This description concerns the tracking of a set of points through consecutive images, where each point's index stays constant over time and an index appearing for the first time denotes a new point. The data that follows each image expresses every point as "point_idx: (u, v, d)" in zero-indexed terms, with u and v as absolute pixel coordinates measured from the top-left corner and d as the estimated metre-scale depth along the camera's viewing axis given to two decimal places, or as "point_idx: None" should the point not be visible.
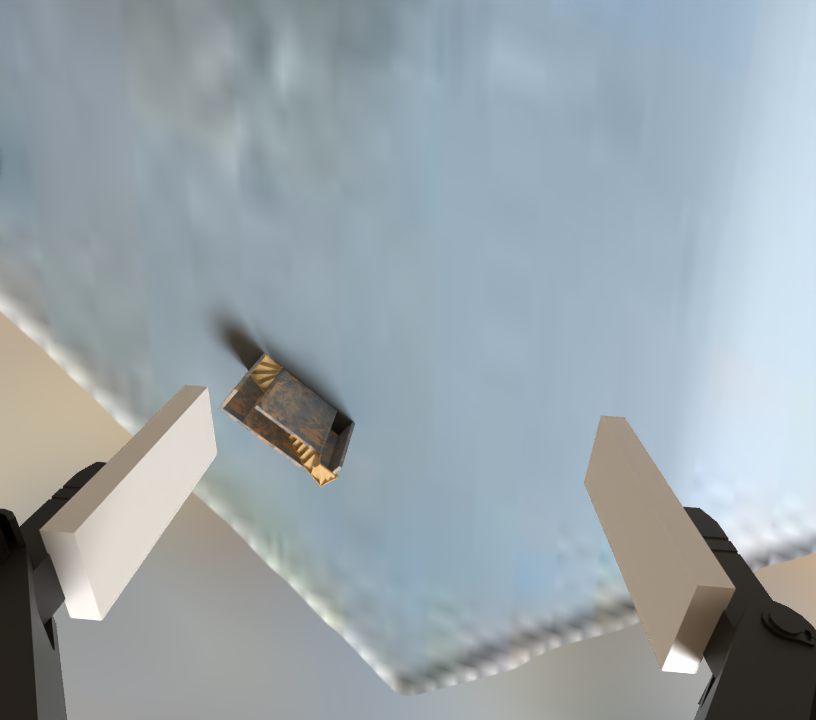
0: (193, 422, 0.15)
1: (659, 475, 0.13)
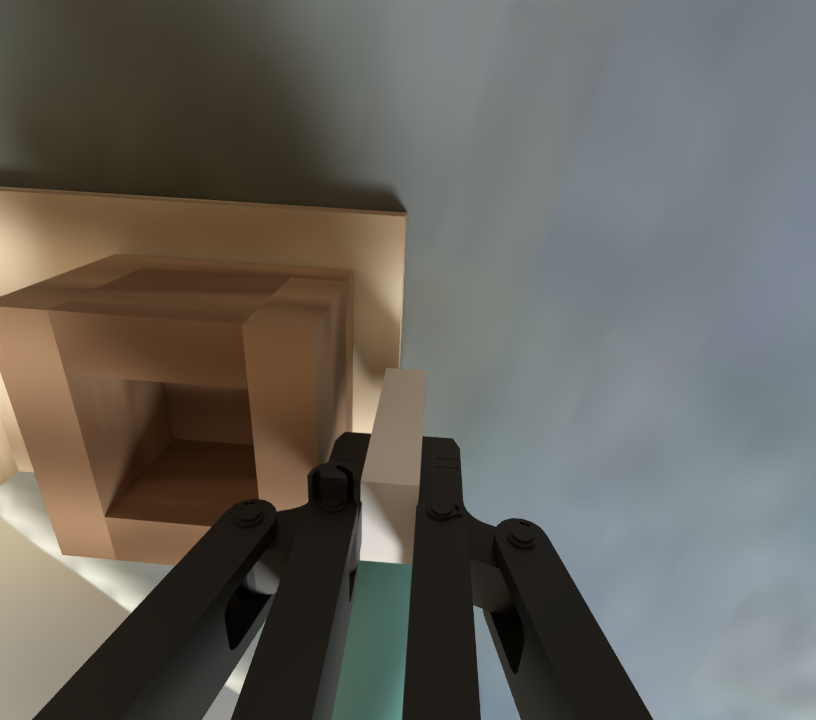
0: None
1: (421, 411, 0.15)
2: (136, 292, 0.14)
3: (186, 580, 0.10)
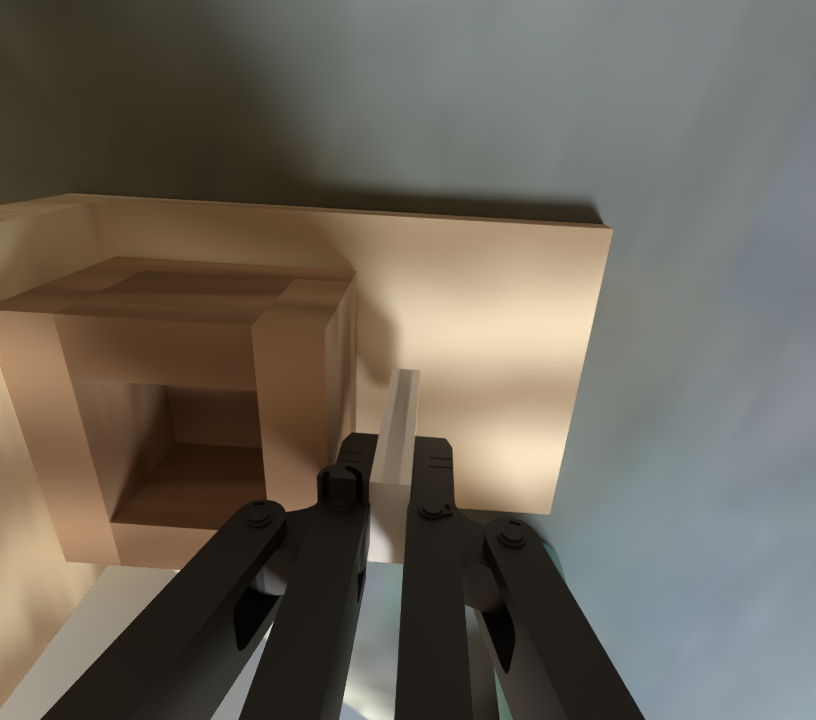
0: None
1: (414, 411, 0.15)
2: (141, 295, 0.14)
3: (195, 580, 0.10)
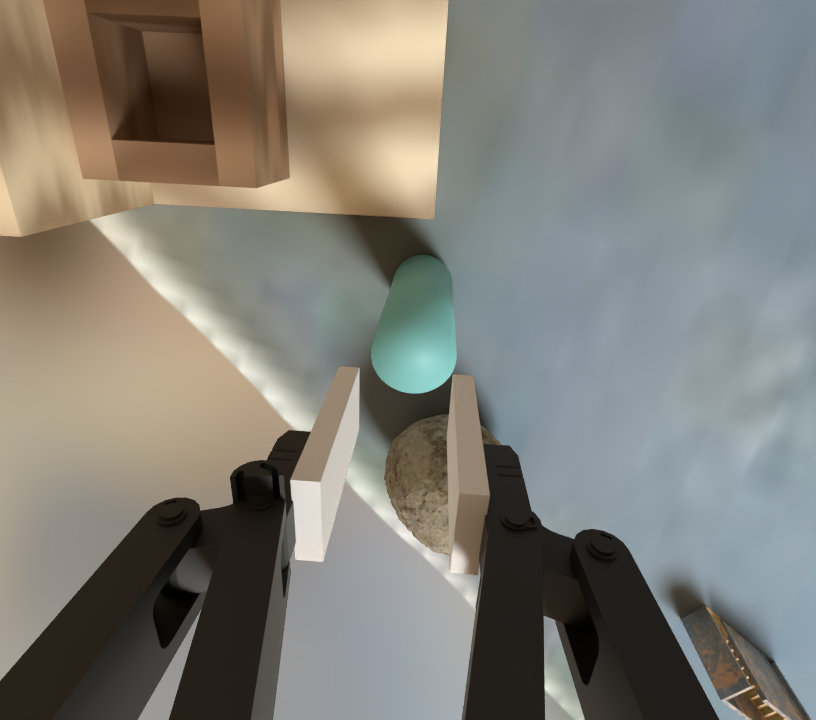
0: (354, 398, 0.17)
1: (476, 418, 0.15)
2: None
3: (108, 584, 0.09)
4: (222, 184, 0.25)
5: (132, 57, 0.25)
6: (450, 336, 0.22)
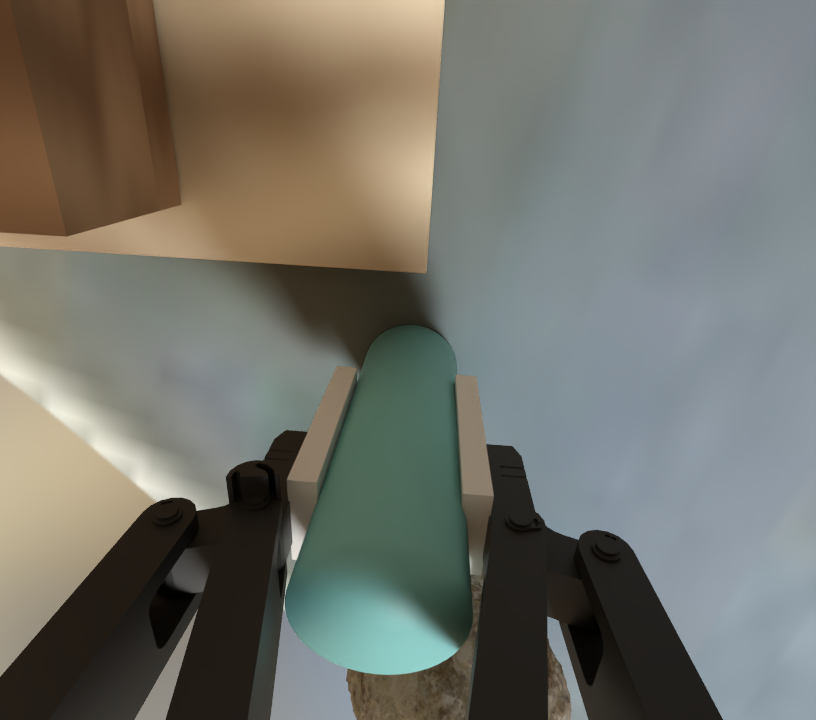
0: (351, 398, 0.17)
1: (479, 418, 0.15)
2: None
3: (104, 584, 0.09)
4: None
5: None
6: (459, 584, 0.10)
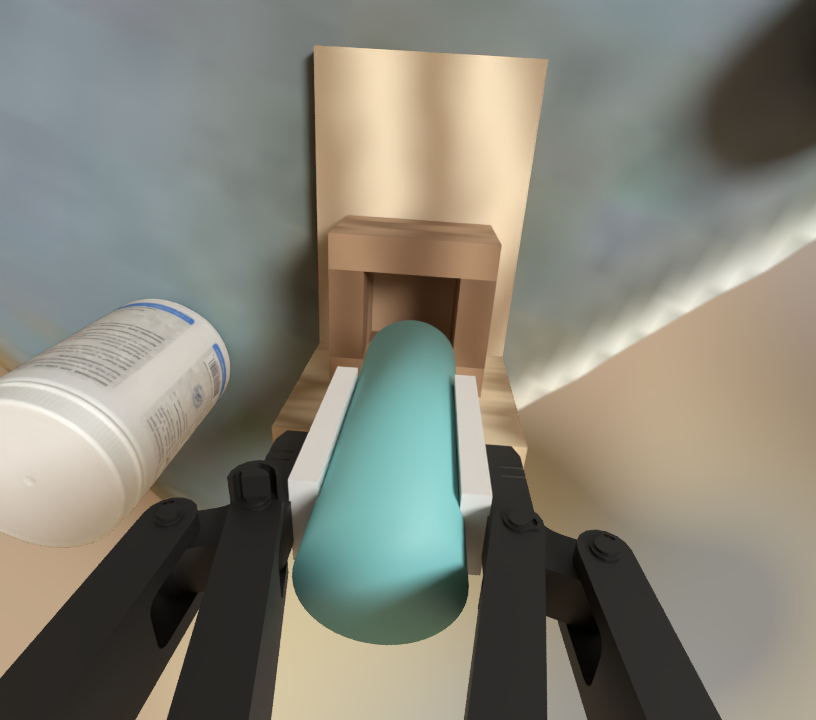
0: None
1: (478, 418, 0.15)
2: None
3: (105, 584, 0.09)
4: (495, 278, 0.26)
5: None
6: (456, 557, 0.11)
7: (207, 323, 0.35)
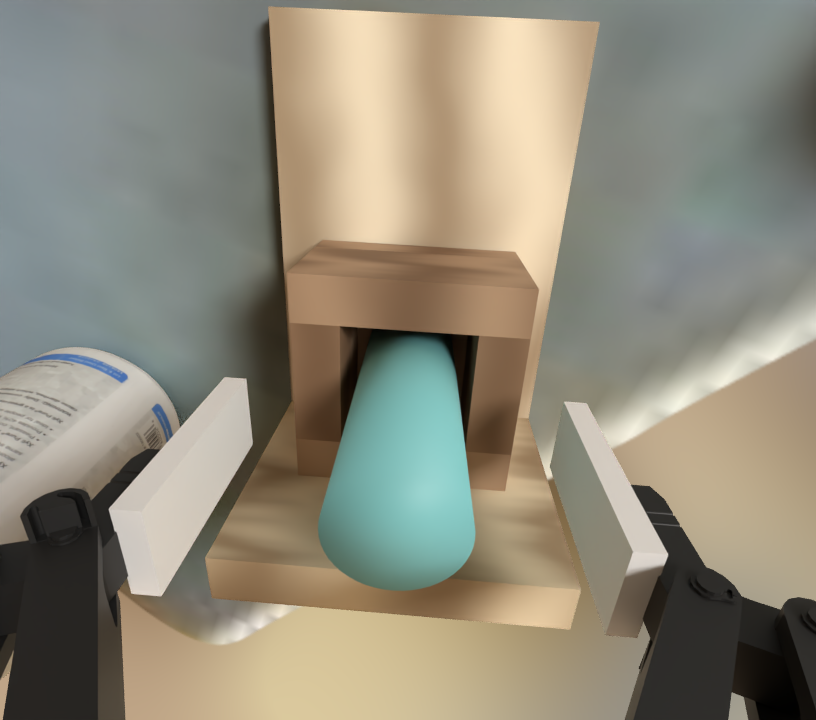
0: (234, 412, 0.16)
1: (612, 455, 0.14)
2: None
3: None
4: (529, 334, 0.18)
5: None
6: (465, 505, 0.12)
7: (147, 377, 0.27)
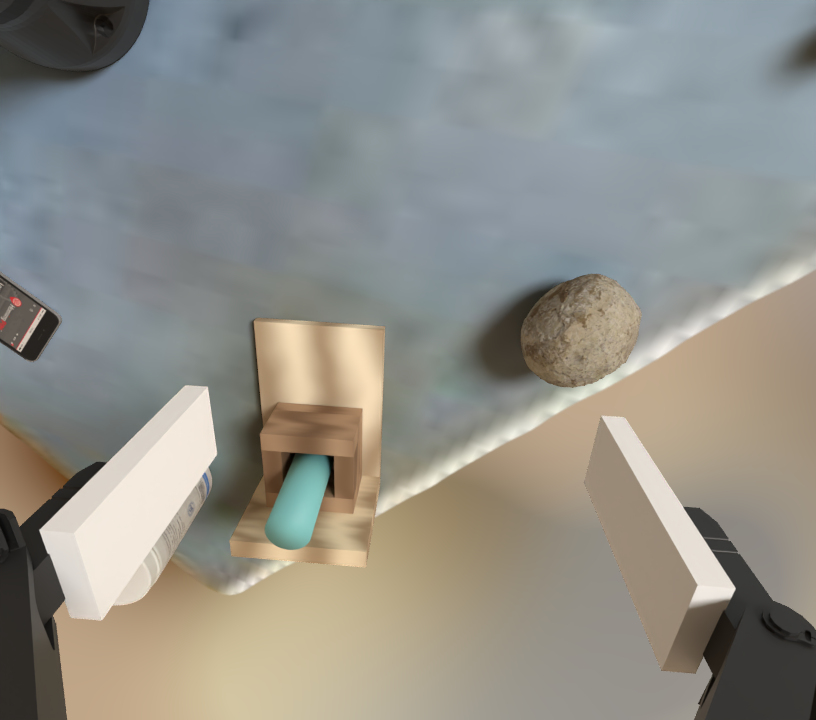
0: (193, 422, 0.15)
1: (659, 475, 0.13)
2: None
3: None
4: (352, 455, 0.47)
5: None
6: (306, 524, 0.41)
7: None
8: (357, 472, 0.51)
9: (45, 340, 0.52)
